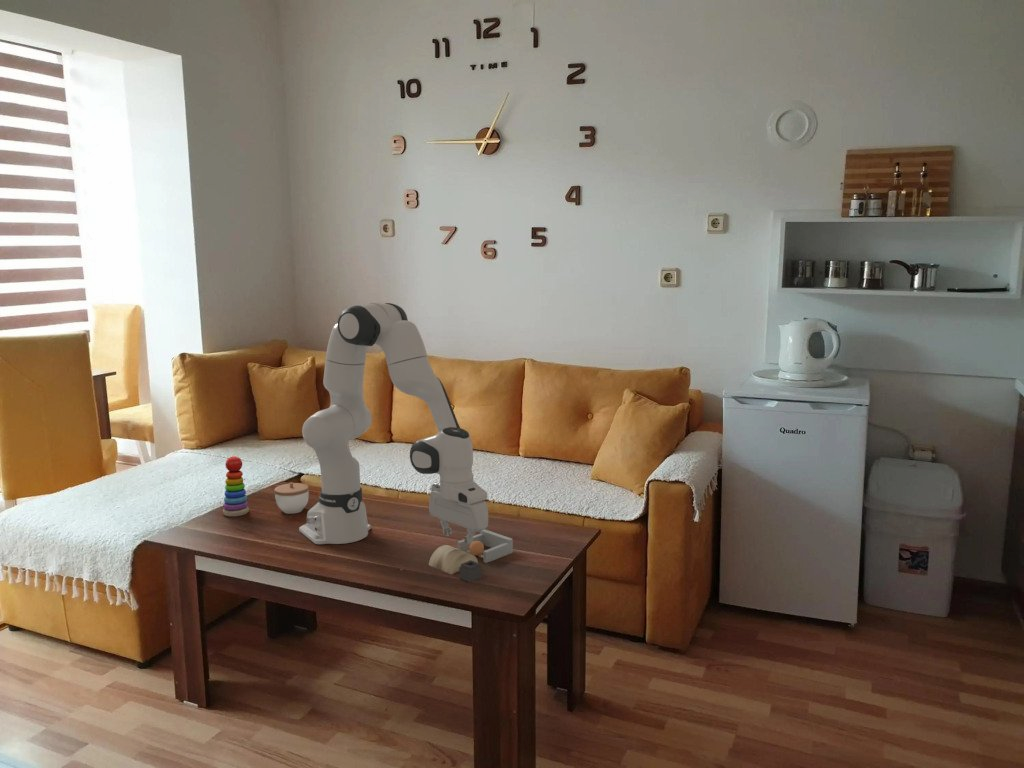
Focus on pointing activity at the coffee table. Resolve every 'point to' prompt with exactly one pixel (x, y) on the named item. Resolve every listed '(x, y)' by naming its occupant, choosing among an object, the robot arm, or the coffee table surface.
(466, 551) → the line
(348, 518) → the robot arm
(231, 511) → the stacking toy
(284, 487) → the lidded jar
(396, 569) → the coffee table surface
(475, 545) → the ball
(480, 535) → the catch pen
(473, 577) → the cube with raised frame
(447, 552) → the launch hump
